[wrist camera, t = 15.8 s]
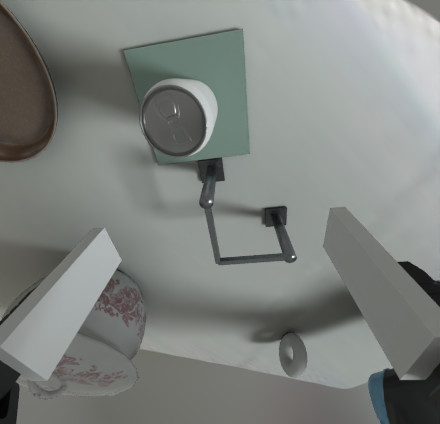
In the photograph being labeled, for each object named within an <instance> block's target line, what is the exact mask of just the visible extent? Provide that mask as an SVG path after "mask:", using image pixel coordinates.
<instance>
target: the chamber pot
mask: <svg viewBox="0 0 440 424" xmlns="http://www.w3.org/2000/svg"><path fill="white" fill-rule="evenodd" d="M46 277H47V276H46ZM46 277H44V278H42V279H40V280H39V281H37V282H36V283H35V284H33V285H32V286H31V287H29V288H28V289H27V290H25V291H24V292H22V293H21V294H20V295H19V296H18V297H17V298H16V299H15V300H14V301H13V302H12V303H11V304H10V306H9V307H8V308H7V310H6V311H5V313H4V314H3V317H2V319H3V318H4V317H5V316H6V315H7V314H9V313H10V311H11V310H12V309H13V308H14V307H15V306H16V305H18V303H19V302H20V301H21V300H22V299H23V298H24V297H25V296H26V294H27V293H29V292H30V291H31V290H33V289H34V288H35V287H37V286H38V285H39V284H41V282H42V281H43V280H44V279H45V278H46ZM145 323H146V310H145V305H144V301H143V297H142V293H141V291H140V290H139V288H138V286H137V285H136V283H135V282H134V281H133V280H132V279H131V278H130V277H128V276H127V275H126V274H124V273H122V272H120V271H118V270H117V269H116V270H115V272H114V274H113V275H112V277H111V279H110V280H109V282H108V283H107V285H106V287H105V288H104V290H103V291H102V293H101V295H100V296H99V298H98V300H97V301H96V303H95V304H94V306H93V308H92V309H91V311H90V313H89V314H88V316H87V317H86V319H85V321H84V322H83V324H82V326H81V327H80V329H79V330H78V332H77V334H76V335H75V337H74V338H73V340H72V342H71V343H70V345H69V347H68V348H67V350H66V351H65V353H64V355H63V356H62V358H61V360H60V361H59V363H58V364H57V366H56V368H55V369H54V371H53V373H52V374H51V376H50V377H49V379H48V381H30V380H28V379H27V378H25V377H24V376H22V375H20V377H19V378H18V379H17V381H16V382H17V383H18V384H19V385H21V386H24V387H27V388H29V391H30V392H31V393H32V394H33V395H34V396H35V397H37V398H39V399H45V400H46V399H53V398H55V397H57V396H59V395H68V396H80V397H87V396H88V397H90V396H102V395H108V396H114V395H116V394H117V393H120V392H122V391H125V390H127V389H129V388H131V387H132V386H133V385H134V384H135V382H136V381H137V379H138V378H139V377H138V373H137V368H136V366H135V365H134V364H133V363H132V359H133V358H134V357H135V355H136V354H137V352H138V350H139V348H140V345H141V342H142V339H143V336H144V330H145Z"/></svg>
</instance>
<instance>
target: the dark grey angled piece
mask: <svg viewBox="0 0 440 424" xmlns="http://www.w3.org/2000/svg"><path fill="white" fill-rule="evenodd" d="M198 163H199V168H200V173H201V178H202V183H204V184H203V188H202V193H201V197H200V201H199V204H200V206H201V207H202V208H204V209H205V214H206V219H207V223H208V228H209V233H210V238H211V243H212V248H213V253H214V257H215V262H216V264H218V265H229V264H243V263H257V262H271V261H286V262H288V263H292V262H294V261H295V260H296V259H297V257H296V254H295V252H294V249H293V247H292V244H291V242H290V239H289V237H288V234H287V231H286V229H285V226H284V225H286V217H287V207H276V208H266V209H265V225H266V227H271V226H274V228H275V231H276V234H277V237H278V240H279V243H280V247H281V250H282V253H280V254H267V255H253V256H240V257H226V258H220V253H219V247H218V242H217V236H216V231H215V225H214V220H213V215H212V209H211V207H212V206H213V201H214V192H215V183H216V181H225V178H224V170H223V163H222V157H220V158H212V159H204V160H199V161H198Z"/></svg>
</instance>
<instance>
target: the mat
mask: <svg viewBox="0 0 440 424" xmlns="http://www.w3.org/2000/svg"><path fill="white" fill-rule="evenodd" d="M124 54H125V58H126V61H127V64H128V67H129V71H130V74H131V77H132V80H133V84H134V87H135V90H136V93H137V97H138V100H139V103H140V106H141V104H142V102H143V100H144V98H145V95H146V94H147V92H148V91H149V90H150V88H151V87H153V86H154V85H155V84H157V83H158V82H160V81H163V80H166V79H172V78H179V79H192V80H197V81H200V82H202V83H204V84H205V85H207V86H208V87H209V88H210V89H211V91H212V92H213V94H214V96H215V98H216V101H217V106H218V113H217V118H216V122H215V125H214V128H213V132H212V134H211V137H210V139H209V141H208V142H207V144H206V145H205V146H204V147H203V148H202V149H201V150H200V151H199V152H197V153H195V154H193V155H190V156H186V157H182V158H174V157H169V156H166V155H163V154H161V153H160V152H158V151H157V150H155V149H154V148H153V149H154V152H155V155H156V158H157V162H158V165H163V164H171V163H179V162H187V161H195V160H203V159H211V158H220V157H228V156H236V155H244V154H250V149H249V131H248V113H247V95H246V77H245V59H244V40H243V29H238V30H233V31H227V32H222V33H217V34H211V35H206V36H200V37H195V38H189V39H184V40H178V41H173V42H167V43H162V44H157V45H151V46H146V47H140V48H135V49H129V50H124Z"/></svg>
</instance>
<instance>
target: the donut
mask: <svg viewBox="0 0 440 424" xmlns="http://www.w3.org/2000/svg"><path fill="white" fill-rule="evenodd" d="M292 349H293V360H292V354H291V352H292ZM279 357H280V362H281V366H282V368H283V370H284V371H285V372H286V374H287V375H288V376H290V377H293V378H298V377H301V376H302V375H303V374H304V372H305V369H306V367H307V352H306V348H305V345H304V343H303V341H302V340H301V338H300V337H299V336H298V335H296V334H294V333H288V334H286V335H284V337H283V338H282V340H281V342H280V347H279Z"/></svg>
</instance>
